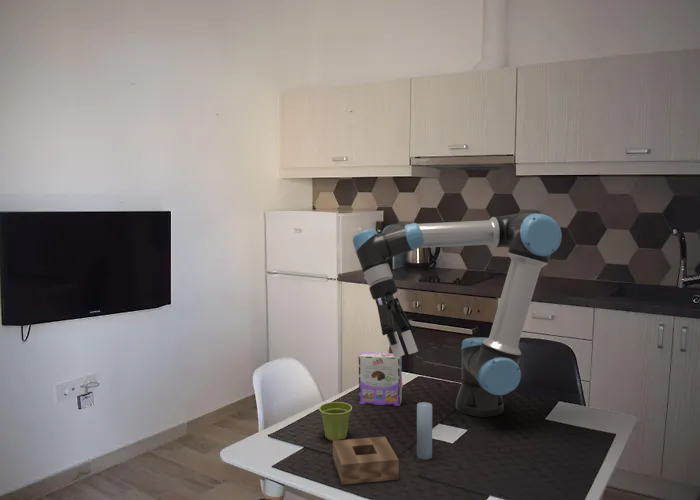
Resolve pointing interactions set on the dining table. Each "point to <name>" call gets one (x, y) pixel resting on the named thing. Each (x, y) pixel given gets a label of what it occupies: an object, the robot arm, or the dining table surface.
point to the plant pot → (335, 419)
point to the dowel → (424, 430)
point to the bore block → (365, 460)
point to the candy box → (380, 379)
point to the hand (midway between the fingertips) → (406, 354)
